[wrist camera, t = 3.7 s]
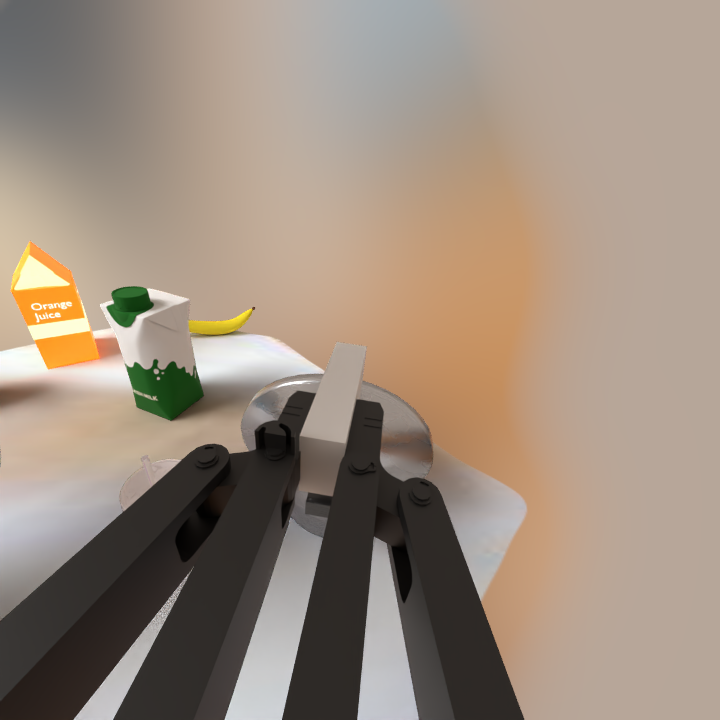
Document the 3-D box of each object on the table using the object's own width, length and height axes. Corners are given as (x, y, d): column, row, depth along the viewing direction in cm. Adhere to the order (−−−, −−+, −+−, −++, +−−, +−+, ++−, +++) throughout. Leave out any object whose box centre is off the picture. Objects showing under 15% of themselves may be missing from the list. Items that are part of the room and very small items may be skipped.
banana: (166, 335, 72) (160, 308, 69) (255, 328, 80) (254, 304, 76) (165, 341, 70) (159, 314, 67) (257, 334, 77) (255, 309, 74)
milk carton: (127, 409, 52) (86, 289, 42) (173, 380, 60) (147, 272, 49) (171, 426, 50) (139, 305, 40) (212, 394, 58) (195, 284, 47)
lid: (230, 357, 23) (217, 376, 22) (457, 394, 22) (459, 417, 21) (257, 473, 34) (250, 491, 32) (411, 501, 33) (411, 521, 32)
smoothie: (129, 567, 34) (84, 478, 26) (164, 510, 39) (135, 423, 32) (191, 574, 34) (164, 488, 26) (218, 516, 39) (201, 431, 32)
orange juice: (95, 338, 68) (59, 239, 58) (100, 358, 63) (62, 252, 52) (45, 347, 64) (-3, 241, 53) (46, 369, 58) (-8, 256, 48)
